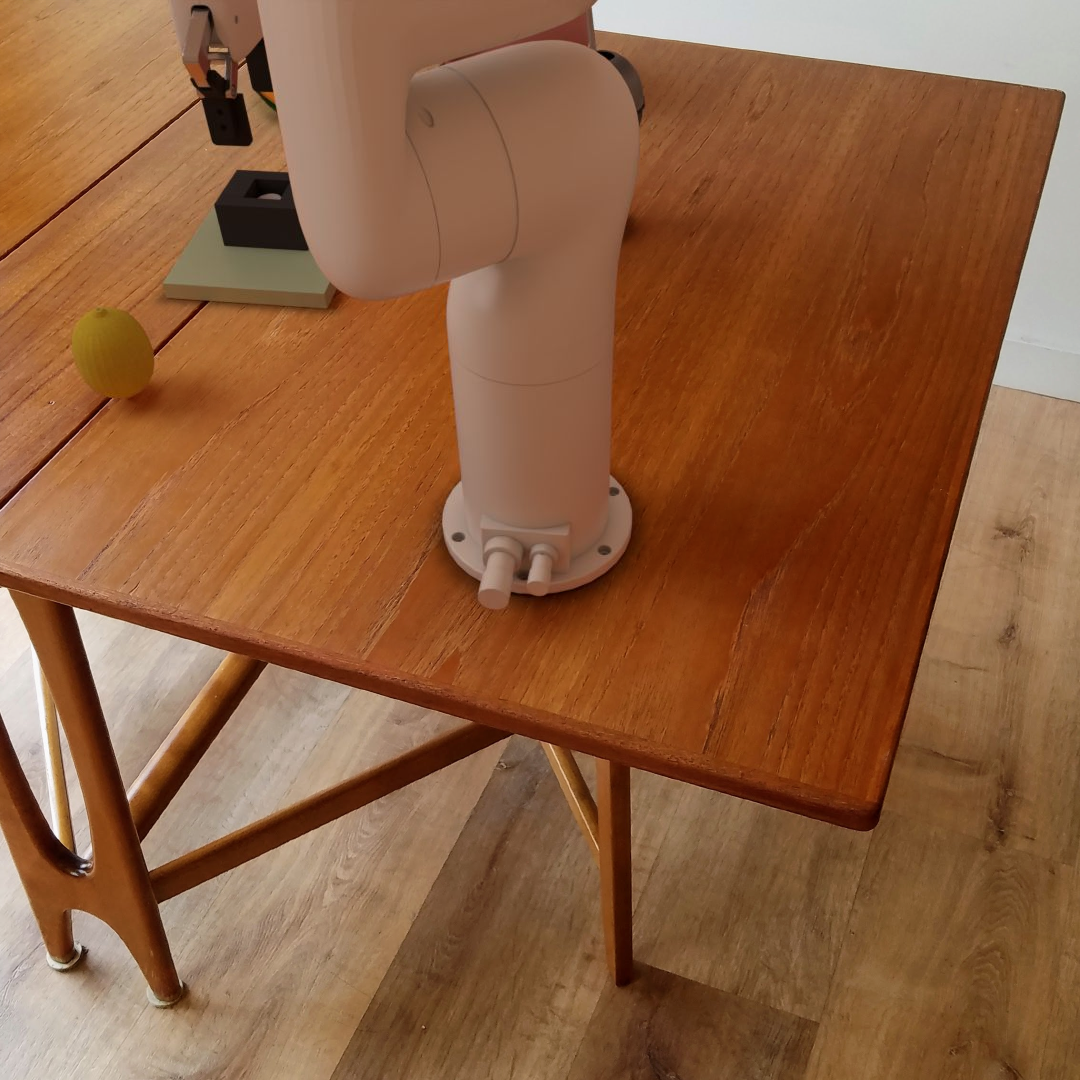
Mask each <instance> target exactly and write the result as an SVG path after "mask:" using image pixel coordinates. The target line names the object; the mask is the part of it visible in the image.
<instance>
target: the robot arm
mask: <svg viewBox="0 0 1080 1080" xmlns="http://www.w3.org/2000/svg"><path fill="white" fill-rule="evenodd" d="M167 1H168V6H169V11H170V16H171V20H172V25H173V29H174V34H175V38H176V42H177V46H178V51H179V53H180V56H181V60H182V63H183V65H184V68H185V69H186V71H187V73H188V74H189V76H190V77H189V81H190V83H191V85H192V86H193V88H195V91H196V92H195V93H196V95H197V97H198V98H199V99H201V103H202V108H203V111H204V116H205V121H206V123H207V128H208V132H209V136H210V141H211V142H212V144H213V145H215V146H220V147H221V146H222V147H224V146H225V147H249V146H251V145H252V143H253V142H254V138H253V137H254V136H253V133H252V128H251V124H250V123H251V122H250V120H249V116H248V110H247V106H246V105H247V104H246V102H245V97H244V93H243V92H238V79H239V78H238V77H239V63H240V62H242V61H243V60H244V59H245V62H246V67H247V72H248V76H249V80H250V85H251V89H252V91H254V92H255V91H256V92H274V97H275V103H276V108H277V112H276V113H277V118H278V124H279V129H280V130H279V131H280V136H281V140H282V146H283V151H284V157H285V162H286V168H287V172H288V174H289V179H290V183H291V188H292V193H293V198H294V203H295V207H296V210H297V214H298V218H299V222H300V225H301V228H302V231H303V234H304V236H305V239H306V242H307V245H308V247H309V249H310V252H311V254H312V256H313V258H314V260H315V261H316V263H317V265H318V267H319V268H320V270H321V271H322V273H323V274H324V275H325V277H326V278H327V279H328V280H329V281H330V282H331V283H332V284H333V285H334V286H335V287H336V288H337V289H336V290H338V291H340V292H341V293H343V294H344V295H346V296H348V297H351V298H353V299H356V300H359V301H363V302H376V303H377V302H386V301H391V300H397V299H400V298H403V297H406V296H410V295H413V294H415V293H418V292H421V291H425V290H428V289H431V288H433V287H436V286H439V285H441V284H444V283H447V282H450V283H449V287H448V291H447V292H448V293H447V300H446V308H445V309H446V310H445V312H446V313H445V316H446V318H445V319H446V334H447V347H448V348H447V349H448V356H449V357H448V358H449V368H450V377H451V386H452V387H451V388H452V397H453V398H452V399H453V407H454V417H455V418H454V419H455V427H456V428H455V429H456V438H457V447H458V457H459V468H460V477H461V480H460V481H459V482H458V483H457V484H456V485H455V486H454V487H453V489H452V490H451V492H450V494H449V495H448V496H447V498H446V501H445V503H444V504H445V505H444V507H443V511H442V534H443V539H444V543H445V545H446V548H447V550H448V553H449V554H450V556H451V558H452V559H453V560H454V561H455V563H456V564H457V565H458V566H459V567H460V568H461V569H462V570H463V571H464V572H465V573H466V574H467V575H469V576H471V577H472V578H474V579H476V580H477V581H479V582H480V583H479V588H478V591H477V601H478V602H479V604H480V605H481V606H482V607H484V608H486V609H489V610H494V611H499V610H503V609H505V608H506V607H507V606H508V605H509V603H510V599H511V593H515V594H523V595H524V594H525V595H532V596H534V597H535V596H536V597H543V596H545V595H547V594H557V593H561V592H565V591H570V590H573V589H576V588H579V587H581V586H583V585H586V584H589V583H591V582H593V581H594V580H597V579H598V578H599V577H601V576H602V575H604V574H606V573H607V572H608V571H609V570H610V569H611V568H612V567H614V566H615V565H616V564H617V563H618V561H619V560H620V559H621V557H622V556H623V555H624V553H625V552H626V551H627V548H628V545H629V542H630V541H631V535H632V528H633V509H632V505H631V502H630V498H629V496H628V495H627V493H626V491H625V490H624V488H623V486H622V485H621V484H620V483H619V481H617V479H616V478H615V477H614V476H613V475H611V447H612V446H611V445H612V444H611V443H612V442H611V441H612V407H613V406H612V405H613V400H612V399H613V370H614V341H615V320H616V318H615V317H616V295H617V279H618V272H619V271H618V270H619V260H620V255H621V249H622V243H623V238H624V234H625V230H626V229H625V228H626V225H627V221H628V218H629V214H630V210H631V206H632V202H633V198H634V193H635V189H636V186H637V185H636V184H637V181H638V180H637V179H638V175H639V168H640V167H639V166H640V155H641V130H640V128H639V122H638V115H637V111H636V107H635V104H634V101H633V97H632V95H631V93H630V90H629V88H628V86H627V84H626V82H625V81H624V79H623V77H622V76H621V74H620V73H619V72H618V70H617V69H616V68H615V67H614V66H613V65H612V63H611V62H610V61H608V60H607V59H606V58H605V57H603V56H602V55H600V54H599V53H597V52H596V51H595V50H592V49H590V47H589V46H588V47H586V46H584V45H581V44H578V43H573V42H568V41H562V40H544V41H531V42H526V43H521V44H516V45H511V46H507V47H503V48H500V49H496V50H493V51H489V52H486V53H483V54H479V55H476V56H473V57H469V58H466V59H462V60H459V61H456V62H452V63H449V64H443V65H439V66H436V65H438V64H442V63H444V62H445V61H448V60H452V59H455V58H459V57H462V56H465V55H469V54H472V53H476V52H479V51H482V50H486V49H489V48H493V47H496V46H499V45H503V44H506V43H509V42H513V41H516V40H519V39H522V38H526V37H529V36H532V35H535V34H538V33H541V32H543V31H546V30H549V29H552V28H554V27H557V26H559V25H562V24H564V23H567V22H569V21H571V20H574V19H575V18H577V17H578V16H580V15H581V14H583V13H585V12H586V11H587V10H589V9H590V8H591V7H592V8H593V6H594V5H595V4H596V3H597V2H598V1H599V0H167ZM210 49H227V51H210ZM211 65H212V66H213V65H215V66H224V77H223V76H222V75H221V74H220V72H218V71H217V70H216V69H212V68H211ZM434 65H435V66H436V67H434V68H431V69H429V70H425V71H423V72H419V71H421V70H422V69H425V68H428V67H431V66H434ZM418 72H419V73H418ZM256 92H255V93H256Z"/></svg>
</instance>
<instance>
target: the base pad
mask: <svg viewBox="0 0 1080 1080" xmlns="http://www.w3.org/2000/svg"><path fill="white" fill-rule="evenodd" d="M259 198H260V199H279V200H280V199H281V196H280V195H277V194H265V195H262V196H260V197H259ZM161 283H162V286H163V290H164V293H165V297H166V298H167V299H177V300H190V301H192V300H193V301H204V302H205V301H206V302H220V303H221V302H222V303H236V304H237V303H238V304H251V305H266V306H281V307H295V308H296V307H297V308H311V309H325V310H326V309H328V308H329V306H330V305H331V302H332V299H333V297H334V295H335V293H336V291H337V290H338V289H337V288H336V287H335V286H334V285H333V284H332V283H331V282H330V281H329V280H328V279H327V278H326V277H325V275H324V274H323V273H322V271H321V270H320V268H319V267H318V265H317V263H316V261H315V260H314V258H313V256H312V254H311V252H310V249H308V251H301V250H284V249H267V248H250V247H234V246H224V243H223V239H222V235H221V231H220V227H219V223H218V219H217V215H216V211H215V207H214V205H213V206H212V207H211V209H210V210H209V212H208V213H207V214H206V216H205V218H204V219H203V221H202V222H201V224H200V225H199V226H198V228H197V230H196V231H195V233H194V234H193V236H192V237H191V239H190V241H189V242H188V244H187V245H186V246H185V248H184V250H183V251H182V253H181V254H180V256H179V257H178V258H177V260H176V262H175V263H174V265H173V266H172V268H171V269H170V271H169V272H168V274H167V275H166V277H165V278H164V280H163V281H162V282H161Z"/></svg>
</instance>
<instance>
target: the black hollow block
mask: <svg viewBox="0 0 1080 1080" xmlns="http://www.w3.org/2000/svg"><path fill="white" fill-rule="evenodd" d="M265 194H277V195H280V196H281V199H280V200H279V199H260V198H259V197H260V196H262V195H265ZM213 206H214V207H215V211H216V215H217V219H218V223H219V227H220V231H221V235H222V239H223V243H224V246H234V247H250V248H267V249H284V250H301V251H308V249H309V247H308V245H307V242H306V239H305V236H304V234H303V231H302V228H301V225H300V222H299V218H298V214H297V210H296V207H295V203H294V198H293V193H292V188H291V183H290V179H289V174H288V171H273V170H271V171H270V170H252V169H236V170H235V172H234V174H233V175H232V176H231V178H230V179H229V181H228V182H227V184H226V185H225V187H224V188H223V190H222V191H221V193H220V195H218V198H217V199H216V200H215V202H214V204H213Z"/></svg>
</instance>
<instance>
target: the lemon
mask: <svg viewBox="0 0 1080 1080" xmlns="http://www.w3.org/2000/svg"><path fill="white" fill-rule="evenodd" d="M71 350H72V357H73V362H74V364H75V367H76V369H77V371H78V373H79V375H80V377H81V378H82V380H83V382H84V383H85V385H87V386H88V387H89V388H90V389H91V390H93V391H94V392H95V393H97V394H99V395H101V396H104V397H106V398H110V399H116V400H117V399H126V400H127V399H128V400H129V399H131V398H133V397H134V396H135V395H137V394H139V393H140V392H142V391H143V390H144V389H145V388H146V387H147V385H149V383H150V381H151V380H152V377H153V375H154V371H155V352H154V349H153V345H152V343H151V340H150V338H149V336H148V334H147V332H146V330H145V329H144V327H143V325H142V324H141V323H140V322H139V321H138V320H137V319H136V318H135V316H133V315H132V314H130V313H129V312H127V311H125V310H123V309H120V308H116V307H110V306H109V307H108V306H102V307H101V306H97V307H95V308H93V309H91V310H89V311H87V312H86V313H85V314H83V315H82V316H81V317H80V318H79V320H78V321H77V322H76V323H75V325H74V327H73V332H72V334H71Z"/></svg>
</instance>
